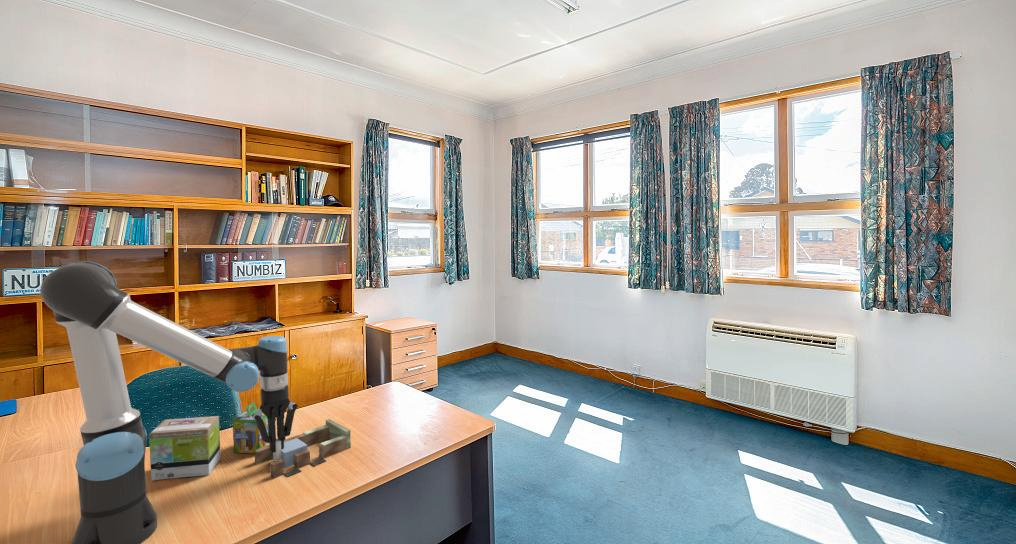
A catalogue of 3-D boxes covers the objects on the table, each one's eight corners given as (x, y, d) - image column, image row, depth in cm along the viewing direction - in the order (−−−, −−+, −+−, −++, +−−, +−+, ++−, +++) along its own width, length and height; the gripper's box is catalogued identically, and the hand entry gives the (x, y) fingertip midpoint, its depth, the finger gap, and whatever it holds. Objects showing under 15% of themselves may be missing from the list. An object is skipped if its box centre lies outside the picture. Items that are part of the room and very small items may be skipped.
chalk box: (259, 454, 145) (257, 410, 144) (232, 453, 146) (230, 409, 144) (276, 441, 154) (274, 399, 153) (250, 440, 155) (249, 398, 154)
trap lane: (277, 481, 130) (276, 461, 130) (254, 462, 141) (254, 444, 140) (354, 449, 150) (354, 432, 149) (329, 435, 160) (329, 418, 159)
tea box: (150, 482, 129) (147, 433, 127) (166, 464, 138) (163, 418, 137) (209, 475, 133) (207, 427, 131) (221, 458, 142) (219, 414, 141)
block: (285, 468, 138) (284, 453, 137) (275, 460, 142) (274, 445, 142) (307, 459, 143) (307, 444, 142) (297, 452, 147) (296, 438, 147)
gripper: (256, 395, 129) (260, 473, 132) (301, 384, 139) (303, 456, 142) (246, 389, 134) (250, 464, 137) (290, 378, 144) (292, 448, 147)
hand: (277, 460), depth 139 cm, fingers closed
